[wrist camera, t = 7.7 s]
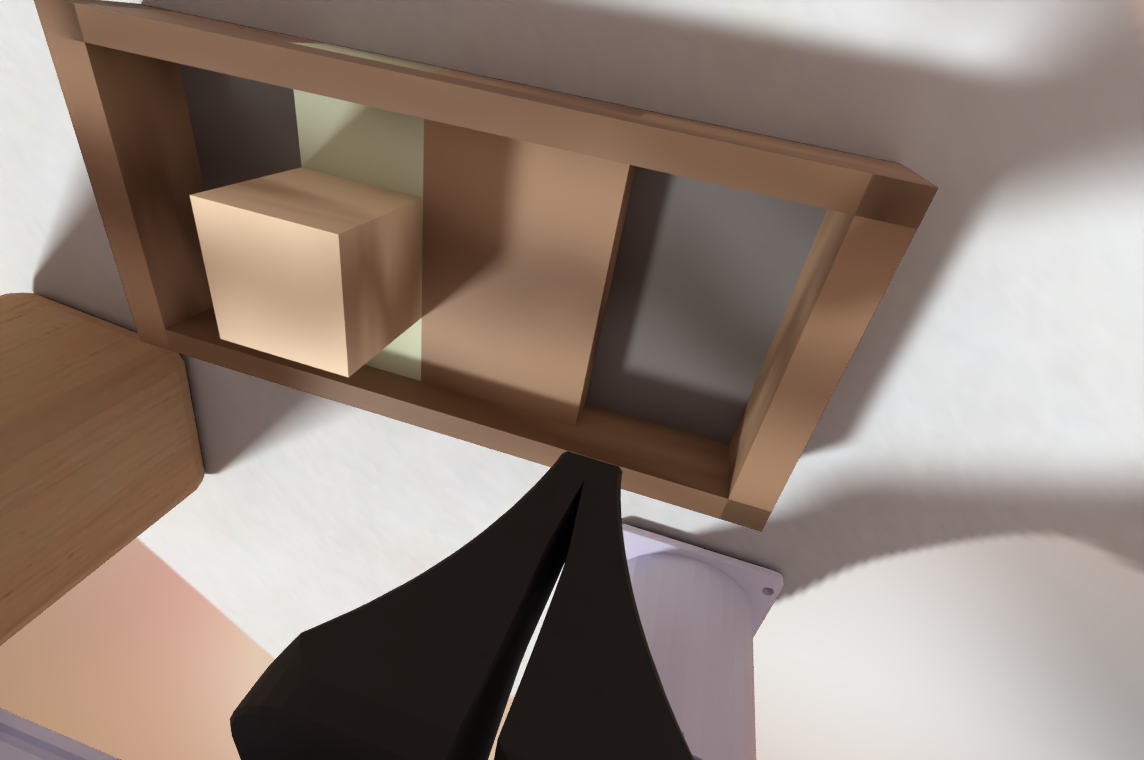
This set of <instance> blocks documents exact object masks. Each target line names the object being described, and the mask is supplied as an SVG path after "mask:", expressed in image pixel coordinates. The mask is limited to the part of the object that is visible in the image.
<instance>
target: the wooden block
mask: <svg viewBox="0 0 1144 760" xmlns="http://www.w3.org/2000/svg"><path fill="white" fill-rule="evenodd" d="M204 474H205V472H204V467H203V461H202V456H201V450H200V445H199V439H198V434H197V428H196V423H195V417H194V412H193V406H192V401H191V395H190V390H189V384H188V379H187V373H186V368H185V362H184V361H183V359H182V358H181V356H180V355H179V353H177V352H174V351H170V350H167V349H164V348H160V347H157V346H154V345H151V344H147V343H144V342H141V341H140V339H139V336H138V333H135V332H133V331H130V330H128V329H125V328H122V327H120V326H117V325H115V324H112V323H109V322H107V321H104V320H102V319H99V318H96V317H94V316H91V315H89V314H86V313H83V312H81V311H78V310H76V309H73V308H70V307H68V306H65V305H63V304H60V303H57V302H55V301H52V300H50V299H47V298H44V297H42V296H39V295H37V294H34V293H11V294H4V295H1V296H0V646H1V645H2V644H3V643H4V642H6V641H7V640H8V639H9V638H11V637H12V636H13V635H14V634H16V633H17V632H18V631H19V630H21V629H22V628H23V627H24V626H26V625H27V624H28V623H29V622H31V621H32V620H33V619H34V618H36V617H37V616H38V615H39V614H41V613H42V612H43V611H44V610H46V609H47V608H48V607H49V606H51V605H52V604H53V603H55V602H56V601H57V600H58V599H60V598H61V597H62V596H63V595H64V594H66V593H67V592H68V591H70V590H71V589H72V588H73V587H75V586H76V585H77V584H78V583H80V582H81V581H82V580H83V579H85V578H86V577H87V576H88V575H90V574H91V573H92V572H93V571H95V570H96V569H97V568H99V566H101V565H102V564H103V563H105V562H106V561H107V560H109V559H110V558H111V557H112V556H114V555H115V554H116V553H117V552H119V551H120V550H121V549H122V548H123V547H125V546H126V545H127V544H128V543H130V542H131V541H132V540H134V539H135V538H136V537H137V536H139V535H140V534H141V533H142V532H144V531H145V530H146V529H147V528H149V527H150V526H151V525H153V524H154V523H155V522H156V521H158V520H159V519H160V518H161V517H163V516H164V515H165V514H166V513H168V512H169V511H170V510H171V509H173V508H174V507H175V506H176V505H178V504H179V503H180V502H181V501H183V500H184V499H185V498H186V497H188V496H189V495H190V494H191V493H193V492H194V491H195V490H196V489H197V488H198V486H199V485H200V483H201V482H202V480H203V477H204Z"/></svg>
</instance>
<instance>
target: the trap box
mask: <svg viewBox="0 0 1144 760" xmlns="http://www.w3.org/2000/svg"><path fill="white" fill-rule="evenodd" d="M34 2H35V5H36V9H37V12H38V15H39V18H40V21H41V25H42V28H43V31H44V34H45V37H46V41H47V44H48V47H49V50H50V53H51V57H52V60H53V63H54V66H55V69H56V73H57V76H58V79H59V82H60V86H61V89H62V92H63V95H64V98H65V102H66V105H67V108H68V111H69V114H70V118H71V121H72V124H73V127H74V130H75V134H76V137H77V140H78V143H79V146H80V150H81V153H82V156H83V159H84V162H85V166H86V169H87V172H88V175H89V179H90V182H91V185H92V188H93V191H94V195H95V198H96V201H97V204H98V207H99V211H100V214H101V217H102V220H103V223H104V227H105V230H106V233H107V236H108V239H109V243H110V246H111V249H112V252H113V256H114V259H115V262H116V265H117V268H118V272H119V275H120V278H121V281H122V284H123V288H124V291H125V294H126V297H127V300H128V304H129V307H130V310H131V313H132V316H133V320H134V323H135V326H136V329H137V333H138V336H139V339H140V341H141V342H144V343H147V344H151V345H154V346H157V347H160V348H164V349H167V350H170V351H174V352H177V353H180V354H183V355H187V356H190V357H193V358H196V359H200V360H203V361H206V362H209V363H213V364H216V365H219V366H222V367H226V368H229V369H232V370H236V371H239V372H242V373H245V374H249V375H252V376H255V377H258V378H262V379H265V380H268V381H271V382H275V383H278V384H281V385H285V386H288V387H291V388H294V389H298V390H301V391H304V392H307V393H311V394H314V395H317V396H320V397H324V398H327V399H330V400H333V401H337V402H340V403H343V404H347V405H350V406H353V407H356V408H360V409H363V410H366V411H369V412H373V413H376V414H379V415H382V416H386V417H389V418H392V419H396V420H399V421H402V422H405V423H409V424H412V425H415V426H418V427H422V428H425V429H428V430H431V431H435V432H438V433H441V434H444V435H448V436H451V437H454V438H458V439H461V440H464V441H467V442H471V443H474V444H477V445H480V446H484V447H487V448H490V449H493V450H497V451H500V452H503V453H507V454H510V455H513V456H516V457H520V458H523V459H526V460H529V461H533V462H536V463H539V464H542V465H546V466H549V467H552V466H553V465H554V463H555V462H556V461H557V460H558V458H559V457H560V455H561V454H562V453H564V452H566V451H569V452H573V453H576V454H579V455H583V456H586V457H589V458H593V459H596V460H599V461H603V462H606V463H609V464H612V465H616V466H619V467H620V468H621V470H622V472H623V473H622V479H621V489H624V490H627V491H631V492H634V493H637V494H640V495H644V496H647V497H650V498H653V499H657V500H660V501H663V502H666V503H670V504H673V505H676V506H680V507H683V508H686V509H689V510H693V511H696V512H699V513H702V514H706V515H709V516H712V517H715V518H719V519H722V520H725V521H728V522H732V523H735V524H738V525H742V526H745V527H748V528H751V529H755V530H758V531H762V529H763V527H764V526H765V524H766V522H767V520H768V518H769V516H770V514H771V512H772V510H773V508H774V506H775V504H776V502H777V500H778V498H779V496H780V494H781V492H782V491H783V489H784V487H785V485H786V483H787V481H788V479H789V477H790V475H791V473H792V471H793V469H794V467H795V465H796V463H797V461H798V459H799V458H800V456H801V454H802V452H803V450H804V448H805V446H806V444H807V442H808V440H809V438H810V436H811V434H812V432H813V430H814V428H815V426H816V425H817V423H818V421H819V419H820V417H821V415H822V413H823V411H824V409H825V407H826V405H827V403H828V401H829V399H830V397H831V395H832V393H833V391H834V390H835V388H836V386H837V384H838V382H839V380H840V378H841V376H842V374H843V372H844V370H845V368H846V366H847V364H848V362H849V360H850V358H851V357H852V355H853V353H854V351H855V349H856V347H857V345H858V343H859V341H860V339H861V337H862V335H863V333H864V331H865V329H866V327H867V325H868V323H869V322H870V320H871V318H872V316H873V314H874V312H875V310H876V308H877V306H878V304H879V302H880V300H881V298H882V296H883V294H884V292H885V290H886V289H887V287H888V285H889V283H890V281H891V279H892V277H893V275H894V273H895V271H896V269H897V267H898V265H899V263H900V261H901V259H902V257H903V255H904V254H905V252H906V250H907V248H908V246H909V244H910V242H911V240H912V238H913V236H914V234H915V232H916V230H917V228H918V226H919V224H920V222H921V221H922V219H923V217H924V215H925V213H926V211H927V209H928V207H929V205H930V203H931V201H932V199H933V197H934V195H935V193H936V191H937V189H938V187H936V186H935V185H933V184H931V183H930V182H928V181H927V180H925V179H924V178H922V177H921V176H919V175H917V174H916V173H914V172H913V171H911V170H910V169H908V168H906V167H905V166H903V165H902V164H898V163H894V162H889V161H884V160H879V159H875V158H870V157H865V156H860V155H856V154H851V153H846V152H841V151H837V150H832V149H827V148H822V147H818V146H813V145H808V144H803V143H799V142H794V141H789V140H784V139H780V138H775V137H770V136H765V135H761V134H756V133H751V132H746V131H741V130H737V129H732V128H727V127H722V126H718V125H713V124H708V123H703V122H699V121H694V120H689V119H684V118H680V117H675V116H670V115H665V114H661V113H656V112H651V111H646V110H642V109H637V108H632V107H627V106H623V105H618V104H613V103H608V102H604V101H599V100H594V99H589V98H584V97H580V96H575V95H570V94H565V93H561V92H556V91H551V90H546V89H542V88H537V87H532V86H527V85H523V84H518V83H513V82H508V81H504V80H499V79H494V78H489V77H485V76H480V75H475V74H470V73H466V72H461V71H456V70H451V69H447V68H442V67H437V66H432V65H427V64H423V63H418V62H413V61H408V60H404V59H399V58H394V57H389V56H385V55H380V54H375V53H370V52H366V51H361V50H356V49H351V48H347V47H342V46H337V45H332V44H328V43H323V42H318V41H313V40H309V39H304V38H299V37H294V36H290V35H285V34H280V33H275V32H270V31H266V30H261V29H256V28H251V27H247V26H242V25H237V24H232V23H228V22H223V21H218V20H213V19H209V18H204V17H199V16H194V15H190V14H185V13H180V12H175V11H171V10H166V9H161V8H156V7H152V6H147V5H142V4H134V3H124V2H113V1H102V0H34ZM297 168H305V169H309V170H313V171H317V172H321V173H325V174H329V175H333V176H337V177H341V178H345V179H349V180H353V181H357V182H361V183H365V184H369V185H373V186H377V187H381V188H385V189H389V190H393V191H397V192H401V193H405V194H409V195H413V196H417V197H421V198H422V231H421V304H420V319H419V320H418V321H417V322H416V323H415V324H413V325H412V326H411V327H410V328H408V329H407V330H406V331H405V332H404V333H402V334H401V335H400V336H399V337H397V338H396V339H395V340H394V341H393V342H391V343H390V344H389V345H388V346H386V347H385V348H384V349H383V350H382V351H380V352H379V353H378V354H377V355H375V356H374V357H373V358H372V359H371V360H369V361H368V362H367V363H366V364H364V365H363V366H362V367H361V368H360V369H358V370H357V371H356V372H355V373H353V374H352V375H351V376H350V377H345V376H342V375H339V374H335V373H332V372H329V371H325V370H322V369H319V368H315V367H312V366H309V365H306V364H302V363H299V362H296V361H292V360H289V359H286V358H282V357H279V356H276V355H272V354H269V353H266V352H263V351H259V350H256V349H253V348H249V347H246V346H243V345H239V344H236V343H233V342H229V341H226V340H223V339H220V334H219V330H218V325H217V320H216V316H215V311H214V306H213V302H212V297H211V292H210V288H209V283H208V278H207V274H206V269H205V265H204V260H203V255H202V251H201V246H200V241H199V237H198V232H197V227H196V223H195V218H194V213H193V209H192V204H191V199H190V195H192V194H196V193H200V192H204V191H208V190H212V189H216V188H220V187H224V186H228V185H232V184H236V183H240V182H244V181H248V180H252V179H256V178H260V177H264V176H268V175H272V174H276V173H280V172H284V171H288V170H292V169H297Z"/></svg>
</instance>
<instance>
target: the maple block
mask: <svg viewBox="0 0 1144 760" xmlns="http://www.w3.org/2000/svg"><path fill="white" fill-rule="evenodd" d="M190 199H191V204H192V209H193V213H194V218H195V223H196V227H197V232H198V237H199V241H200V246H201V251H202V255H203V260H204V265H205V269H206V274H207V278H208V283H209V288H210V292H211V297H212V302H213V306H214V311H215V316H216V320H217V325H218V330H219V334H220V339H223V340H226V341H229V342H233V343H236V344H239V345H243V346H246V347H249V348H253V349H256V350H259V351H263V352H266V353H269V354H272V355H276V356H279V357H282V358H286V359H289V360H292V361H296V362H299V363H302V364H306V365H309V366H312V367H315V368H319V369H322V370H325V371H329V372H332V373H335V374H339V375H342V376H345V377H350V376H351V375H352V374H353V373H355V372H356V371H357V370H358V369H360V368H361V367H362V366H363V365H364V364H366V363H367V362H368V361H369V360H371V359H372V358H373V357H374V356H375V355H377V354H378V353H379V352H380V351H382V350H383V349H384V348H385V347H386V346H388V345H389V344H390V343H391V342H393V341H394V340H395V339H396V338H397V337H399V336H400V335H401V334H402V333H404V332H405V331H406V330H407V329H408V328H410V327H411V326H412V325H413V324H415V323H416V322H417V321H418V320H419V319H420V304H421V231H422V198H421V197H417V196H413V195H409V194H405V193H401V192H397V191H393V190H389V189H385V188H381V187H377V186H373V185H369V184H365V183H361V182H357V181H353V180H349V179H345V178H341V177H337V176H333V175H329V174H325V173H321V172H317V171H313V170H309V169H305V168H297V169H292V170H288V171H284V172H280V173H276V174H272V175H268V176H264V177H260V178H256V179H252V180H248V181H244V182H240V183H236V184H232V185H228V186H224V187H220V188H216V189H212V190H208V191H204V192H200V193H196V194H192V195H190Z"/></svg>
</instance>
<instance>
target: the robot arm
mask: <svg viewBox="0 0 1144 760" xmlns="http://www.w3.org/2000/svg"><path fill="white" fill-rule="evenodd" d="M622 473H623V472H622V470H621V468H620V467H619V466H616V465H612V464H609V463H606V462H603V461H599V460H596V459H593V458H589V457H586V456H583V455H579V454H576V453H573V452H569V451H566V452H564V453H562V454H561V455H560V457H559V458H558V460H557V461H556V462H555V463H554V465H553V466H552V467H551V468H550V469H549V470H548V472H547V473H546V474H545V475H544V476H543V477H542V478H541V479H540V480H539V481H538V482H537V483H536V485H535V486H534V487H533V488H532V489H530V490H529V491H528V492H527V493H526V494H525V495H524V496H523V497H522V498H521V499H520V500H519V501H518V502H517V503H516V504H515V505H514V506H513V507H512V508H510V509H509V510H508V511H507V512H506V513H505V514H503V515H502V516H501V517H500V518H499V519H498V520H496V521H495V522H494V523H493V524H492V525H490V526H489V527H488V528H487V529H486V530H484V531H483V532H482V533H481V534H479V535H478V536H477V537H475V538H474V539H473V540H471V541H470V542H469V543H467V544H466V545H464V546H463V547H462V548H460V549H459V550H457V551H456V552H455V553H453V554H452V555H450V556H449V557H447V558H446V559H444V560H443V561H441V562H439V563H438V564H436V565H435V566H433V567H432V568H430V569H428V570H427V571H425V572H424V573H422V574H420V575H419V576H417V577H415V578H414V579H412V580H410V581H408V582H407V583H405V584H403V585H401V586H399V587H397V588H395V589H393V590H392V591H390V592H388V593H386V594H384V595H382V596H380V597H378V598H376V599H375V600H373V601H371V602H369V603H367V604H365V605H363V606H361V607H359V608H357V609H355V610H352V611H350V612H348V613H345V614H343V615H341V616H339V617H336V618H334V619H332V620H330V621H327V622H325V623H323V624H321V625H318V626H316V627H314V628H311V629H309V630H307V631H304V632H302V633H301V634H300V635H299V636H298V637H297V638H295V639H294V641H293V642H292V643H291V644H290V645H289V646H288V647H287V648H286V649H285V650H284V651H283V652H282V653H281V654H280V655H279V656H278V657H277V658H276V659H275V660H274V661H273V662H272V663H271V664H270V666H269V667H268V668H267V669H266V671H265V672H264V673H263V674H262V676H261V677H260V678H259V679H258V681H257V682H256V683H255V685H254V686H253V687H252V688H251V690H250V691H249V692H248V694H247V695H246V696H245V698H244V699H243V700H242V701H241V703H240V704H239V705H238V707H237V708H236V710H235V711H234V712H233V714H232V716H231V718H230V725H231V732H232V737H233V740H234V742H235V745H236V748H237V750H238V753H239V756H240V758H241V760H488V758H489V755H490V752H491V749H492V746H493V743H494V740H495V737H496V734H497V731H498V728H499V725H500V722H501V719H502V716H503V713H504V710H505V707H506V704H507V701H508V698H509V696H510V693H511V690H512V687H513V684H514V681H515V678H516V675H517V672H518V669H519V666H520V664H521V661H522V659H523V656H524V654H525V651H526V649H527V646H528V644H529V642H530V639H531V637H532V635H533V633H534V630H535V628H536V626H537V624H538V621H539V619H540V617H541V615H542V612H543V610H544V608H545V606H546V603H547V601H548V599H549V597H550V594H551V592H552V590H553V588H554V585H555V583H556V581H557V578H558V576H559V574H560V572H561V569H562V567H563V565H564V568H563V570H562V573H561V576H560V579H559V581H558V584H557V587H556V590H555V592H554V595H553V598H552V601H551V603H550V606H549V609H548V611H547V614H546V617H545V619H544V622H543V625H542V628H541V630H540V633H539V635H538V638H537V641H536V643H535V646H534V649H533V651H532V654H531V656H530V659H529V662H528V664H527V667H526V669H525V672H524V675H523V677H522V680H521V682H520V685H519V687H518V690H517V692H516V695H515V697H514V700H513V702H512V705H511V707H510V710H509V712H508V715H507V718H506V720H505V722H504V725H503V727H502V730H501V732H500V735H499V737H498V741H497V746H496V752H495V757H494V760H756V740H755V704H754V666H753V637H754V635H755V634H756V632H757V630H758V629H759V627H760V625H761V623H762V622H763V620H764V619H765V617H766V615H767V613H768V612H769V610H770V608H771V607H772V605H773V603H774V602H775V600H776V598H777V597H778V595H779V593H780V592H781V590H782V588H783V586H784V581H783V577H782V575H781V574H780V573H778V572H776V571H773V570H770V569H766V568H763V567H760V566H757V565H754V564H751V563H747V562H744V561H741V560H738V559H735V558H732V557H728V556H725V555H722V554H719V553H716V552H712V551H709V550H706V549H703V548H700V547H697V546H693V545H690V544H687V543H684V542H681V541H678V540H674V539H671V538H668V537H665V536H662V535H658V534H655V533H652V532H649V531H646V530H643V529H639V528H636V527H633V526H630V525H627V524H622V519H621V479H622ZM564 563H565V564H564ZM766 587H768V588H766ZM0 760H120V759H118V758H115V757H113V756H111V755H109V754H106V753H104V752H102V751H99V750H97V749H95V748H92V747H90V746H88V745H85V744H83V743H81V742H78V741H76V740H74V739H71V738H69V737H67V736H64V735H62V734H60V733H57V732H55V731H52V730H50V729H48V728H45V727H43V726H41V725H39V724H36V723H34V722H32V721H29V720H27V719H24V718H22V717H20V716H17V715H15V714H13V713H11V712H8V711H6V710H4V709H1V708H0Z"/></svg>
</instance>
